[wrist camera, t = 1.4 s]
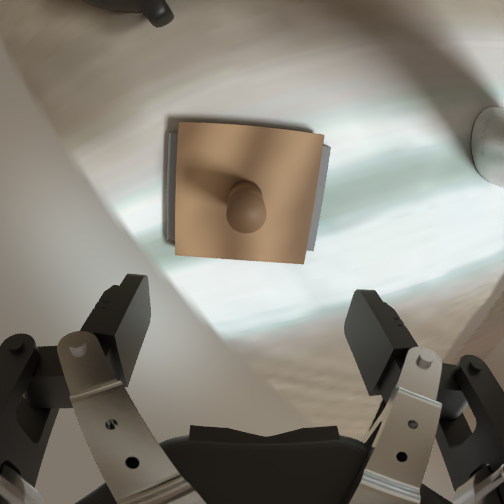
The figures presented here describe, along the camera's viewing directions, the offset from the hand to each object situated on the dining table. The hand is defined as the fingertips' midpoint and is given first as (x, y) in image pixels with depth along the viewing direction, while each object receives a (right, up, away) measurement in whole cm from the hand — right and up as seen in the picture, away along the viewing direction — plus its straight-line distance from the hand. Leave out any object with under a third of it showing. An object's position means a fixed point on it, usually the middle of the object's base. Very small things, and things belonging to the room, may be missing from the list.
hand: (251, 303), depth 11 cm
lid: (-1, +7, +15) cm, 17 cm away
